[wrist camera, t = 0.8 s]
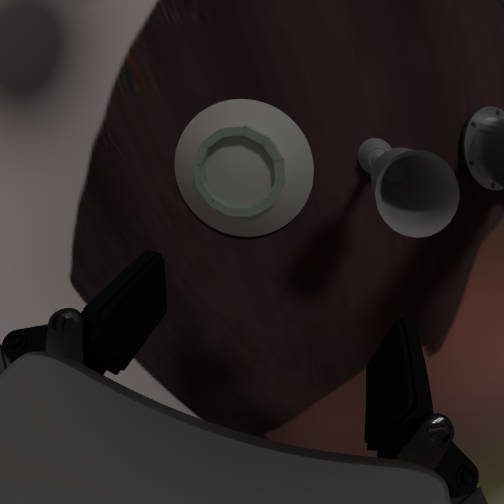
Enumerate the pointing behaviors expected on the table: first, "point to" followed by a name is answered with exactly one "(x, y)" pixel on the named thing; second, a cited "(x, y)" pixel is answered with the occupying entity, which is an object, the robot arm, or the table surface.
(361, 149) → the chalice
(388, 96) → the table surface
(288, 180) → the plate
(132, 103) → the table surface
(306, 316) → the table surface
